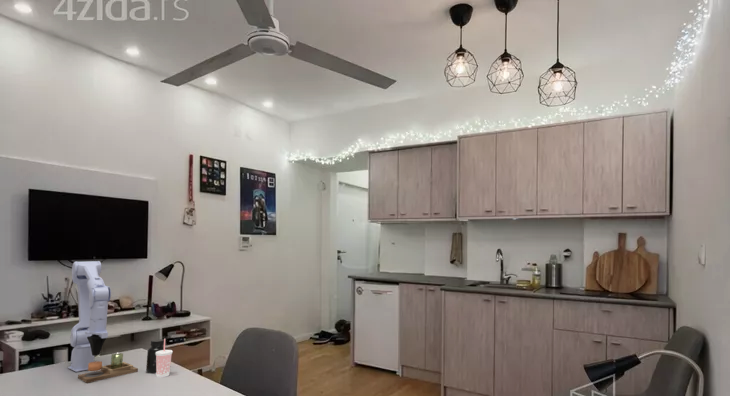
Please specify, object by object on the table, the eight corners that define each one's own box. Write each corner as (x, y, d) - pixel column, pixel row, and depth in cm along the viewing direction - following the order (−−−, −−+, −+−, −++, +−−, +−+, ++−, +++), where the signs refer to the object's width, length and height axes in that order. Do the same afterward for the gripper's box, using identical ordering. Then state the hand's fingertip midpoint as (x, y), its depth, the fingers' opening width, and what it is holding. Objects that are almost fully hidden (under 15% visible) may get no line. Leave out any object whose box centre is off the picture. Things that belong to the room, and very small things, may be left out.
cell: (108, 370, 168) (110, 352, 168) (119, 367, 171) (121, 351, 171) (112, 372, 165) (113, 354, 166) (123, 369, 168) (124, 352, 169)
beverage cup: (160, 372, 169) (162, 336, 170) (174, 373, 168) (176, 337, 169) (150, 377, 163) (152, 340, 164) (165, 378, 162) (167, 340, 163)
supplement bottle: (157, 374, 167) (158, 342, 168) (142, 372, 168) (143, 341, 170) (168, 368, 174) (170, 338, 175) (153, 367, 175) (155, 338, 176)
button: (86, 369, 162) (86, 363, 162) (98, 366, 165) (99, 360, 165) (90, 371, 159) (91, 365, 159) (103, 369, 162) (104, 362, 163)
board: (77, 378, 161) (78, 370, 162) (127, 367, 175) (128, 360, 176) (86, 383, 156) (87, 375, 156) (137, 371, 170) (138, 364, 170)
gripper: (79, 318, 165) (77, 353, 164) (94, 322, 156) (91, 360, 155) (99, 315, 171) (97, 350, 169) (114, 319, 162) (112, 356, 160)
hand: (95, 354), depth 163 cm, fingers closed
